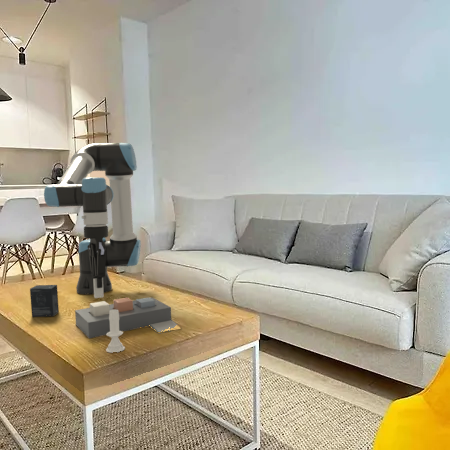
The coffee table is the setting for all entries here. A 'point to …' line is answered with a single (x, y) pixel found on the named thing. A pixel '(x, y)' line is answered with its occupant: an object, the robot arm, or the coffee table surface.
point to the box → (44, 300)
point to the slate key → (145, 302)
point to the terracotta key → (123, 304)
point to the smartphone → (163, 325)
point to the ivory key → (99, 308)
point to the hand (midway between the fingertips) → (98, 297)
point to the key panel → (122, 319)
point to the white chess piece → (114, 332)
